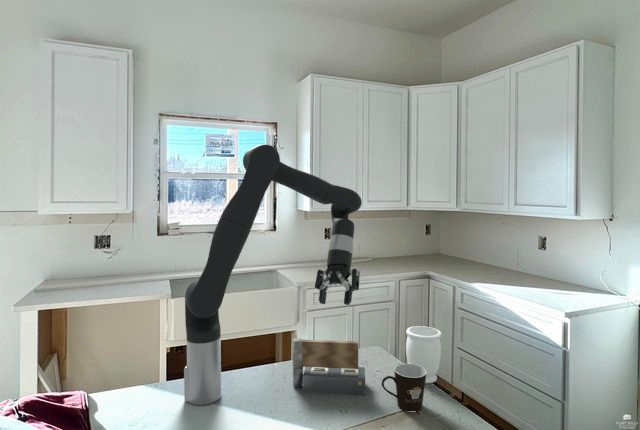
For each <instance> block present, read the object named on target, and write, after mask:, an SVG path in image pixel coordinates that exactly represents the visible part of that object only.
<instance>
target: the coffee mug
mask: <svg viewBox="0 0 640 430" xmlns="http://www.w3.org/2000/svg"><path fill="white" fill-rule="evenodd" d="M393 369H394V370H393V371H394V376H391V375H387V376H385V377H384V378H383V379H382V381H381V387H382V389H383V390H385V392H386V393H388V394H389V395H392V396H393V397H395V398H396V399H397V407H398V408H399V409H400V410H402V411H403V412H406V411H416V412H415V413H419V412H420V411H422V409H423V401H424V394H425V387H426V383H425V381H426V374H427V371H426V370H425V369H424V368H423V367H421V366H419V365H415V364H408V362H407V363H400V364H397V365H395V366H394V368H393ZM388 379H391V380H393V382H394V383H395V389H396V393H393V392H392V391H390V390H388V389H387V388H386V387H385V382H386V381H387V380H388Z"/></svg>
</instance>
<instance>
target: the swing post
mask: <svg viewBox="0 0 640 430" xmlns="http://www.w3.org/2000/svg"><path fill="white" fill-rule="evenodd" d="M303 374H304V367H301V368H295V367H293V366H292V387H293V388H295V389H301V388H302V389H303Z"/></svg>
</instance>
